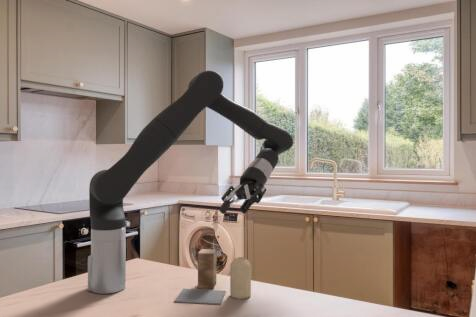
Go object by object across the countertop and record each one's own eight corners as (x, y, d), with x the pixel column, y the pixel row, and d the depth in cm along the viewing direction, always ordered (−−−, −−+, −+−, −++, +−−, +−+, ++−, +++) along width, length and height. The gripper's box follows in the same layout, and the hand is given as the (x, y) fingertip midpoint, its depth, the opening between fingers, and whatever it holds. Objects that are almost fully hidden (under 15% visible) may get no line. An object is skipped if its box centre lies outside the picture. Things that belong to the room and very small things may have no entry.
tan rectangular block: (197, 288, 109) (198, 253, 109) (201, 282, 113) (201, 248, 113) (213, 289, 108) (213, 253, 108) (216, 283, 113) (216, 249, 113)
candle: (248, 299, 100) (249, 261, 100) (228, 298, 102) (228, 260, 101) (252, 292, 106) (252, 256, 106) (232, 290, 107) (232, 255, 107)
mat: (174, 302, 99) (174, 300, 99) (183, 289, 108) (183, 288, 108) (220, 304, 97) (220, 303, 97) (225, 291, 106) (225, 290, 106)
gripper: (234, 168, 125) (208, 203, 116) (268, 163, 116) (243, 201, 106) (246, 185, 128) (221, 220, 119) (279, 182, 119) (256, 220, 109)
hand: (231, 211), depth 112 cm, fingers open, 8 cm apart
